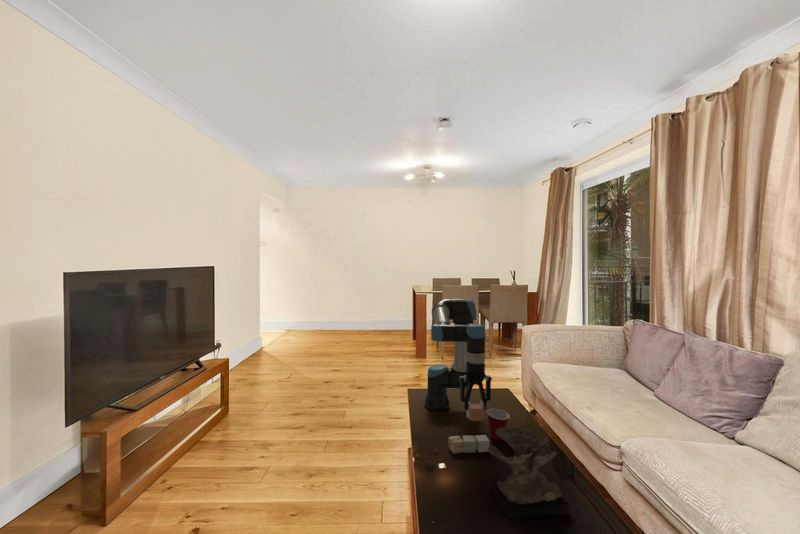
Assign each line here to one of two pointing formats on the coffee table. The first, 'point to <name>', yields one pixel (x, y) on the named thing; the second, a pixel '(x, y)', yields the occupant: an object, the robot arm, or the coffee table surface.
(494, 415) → the plastic cup
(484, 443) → the offwhite cube
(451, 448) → the maple cube
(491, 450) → the coral
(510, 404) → the coffee table surface
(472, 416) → the terracotta cube
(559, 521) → the coffee table surface
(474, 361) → the robot arm
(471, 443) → the sage cube
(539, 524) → the coffee table surface
